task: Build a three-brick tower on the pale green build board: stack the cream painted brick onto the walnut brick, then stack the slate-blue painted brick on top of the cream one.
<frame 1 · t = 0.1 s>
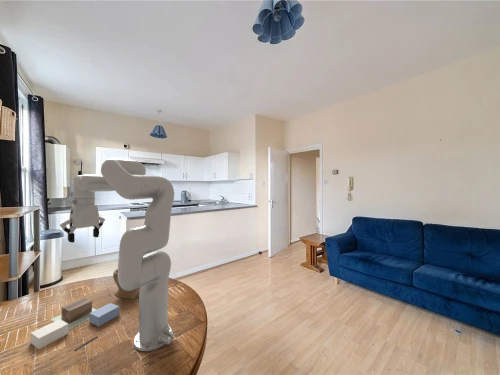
hand: (84, 239, 94), 31 cm above the table, fingers open, 9 cm apart
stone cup: (129, 296, 104), on the table
brick B: (49, 342, 73), on the table
build board: (77, 318, 86), on the table
brick C: (104, 321, 84), on the table
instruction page: (80, 340, 74), on the table
brick A: (77, 315, 86), point 1 cm above the table, touching build board
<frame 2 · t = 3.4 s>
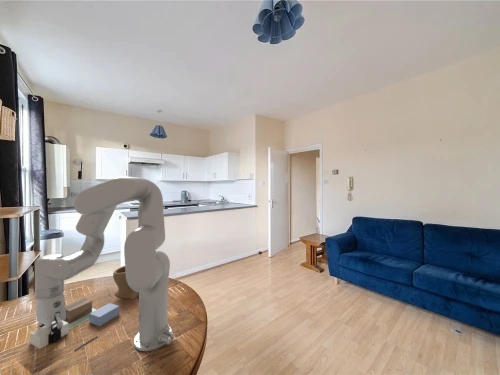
hand: (49, 339, 73), 1 cm above the table, fingers closed on brick B, 6 cm apart
brick B: (49, 341, 73), on the table, touching gripper
everything else where it was.
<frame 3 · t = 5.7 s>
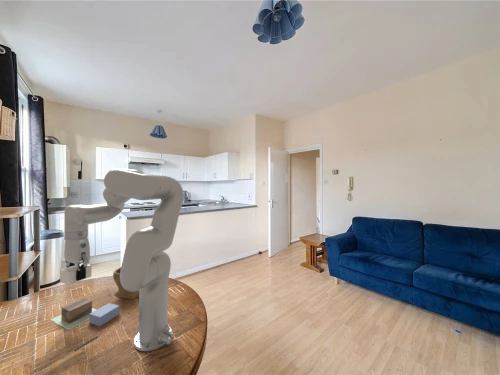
hand: (76, 277, 85), 18 cm above the table, fingers closed on brick B, 6 cm apart
brick B: (76, 279, 85), point 17 cm above the table, touching gripper
everything else where it was.
when the fingers open (8 cm above the table, at t = 7.9 s): brick B drops 1 cm, resting on brick A.
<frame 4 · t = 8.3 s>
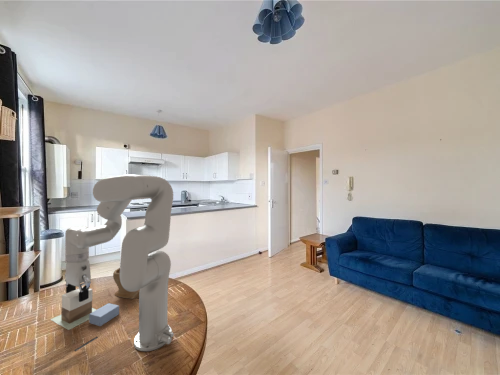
hand: (77, 297, 86), 9 cm above the table, fingers open, 9 cm apart
brick B: (77, 303, 86), point 6 cm above the table, touching brick A
brick A: (77, 315, 86), point 1 cm above the table, touching brick B, build board
everything else where it was.
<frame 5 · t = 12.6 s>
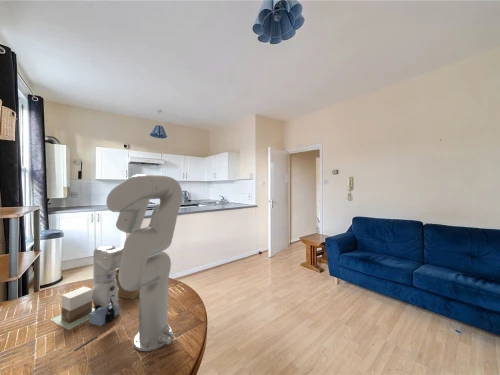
hand: (104, 319, 84), 1 cm above the table, fingers closed on brick C, 6 cm apart
brick C: (104, 321, 84), on the table, touching gripper
everything else where it was.
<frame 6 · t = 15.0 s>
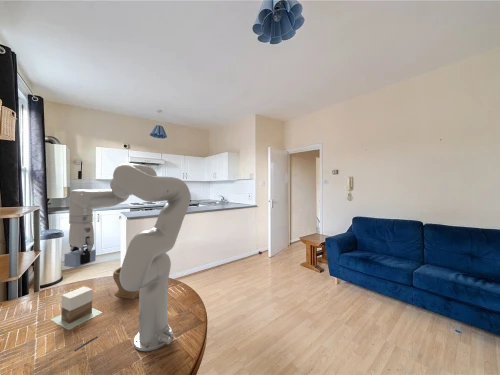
hand: (80, 261, 85), 24 cm above the table, fingers closed on brick C, 6 cm apart
brick C: (80, 263, 85), point 23 cm above the table, touching gripper
everything else where it was.
when the fingers open (13 cm above the table, at t = 17.6 s): brick C drops 1 cm, resting on brick B.
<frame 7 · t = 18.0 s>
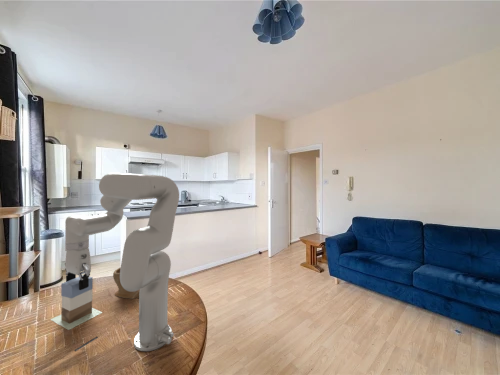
hand: (77, 285, 86), 14 cm above the table, fingers open, 9 cm apart
brick B: (77, 303, 86), point 6 cm above the table, touching brick A, brick C
brick C: (77, 292, 86), point 11 cm above the table, touching brick B
everything else where it was.
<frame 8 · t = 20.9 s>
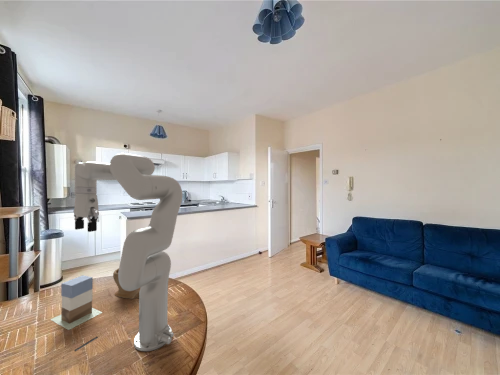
hand: (85, 230, 90), 36 cm above the table, fingers open, 9 cm apart
nothing on the table moved.
at the end: brick B 0.1 cm off-centre on the brick A, point 5.0 cm above the brick A's base; brick C 0.0 cm off-centre on the brick B, point 5.0 cm above the brick B's base; brick C tilted 0° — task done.
